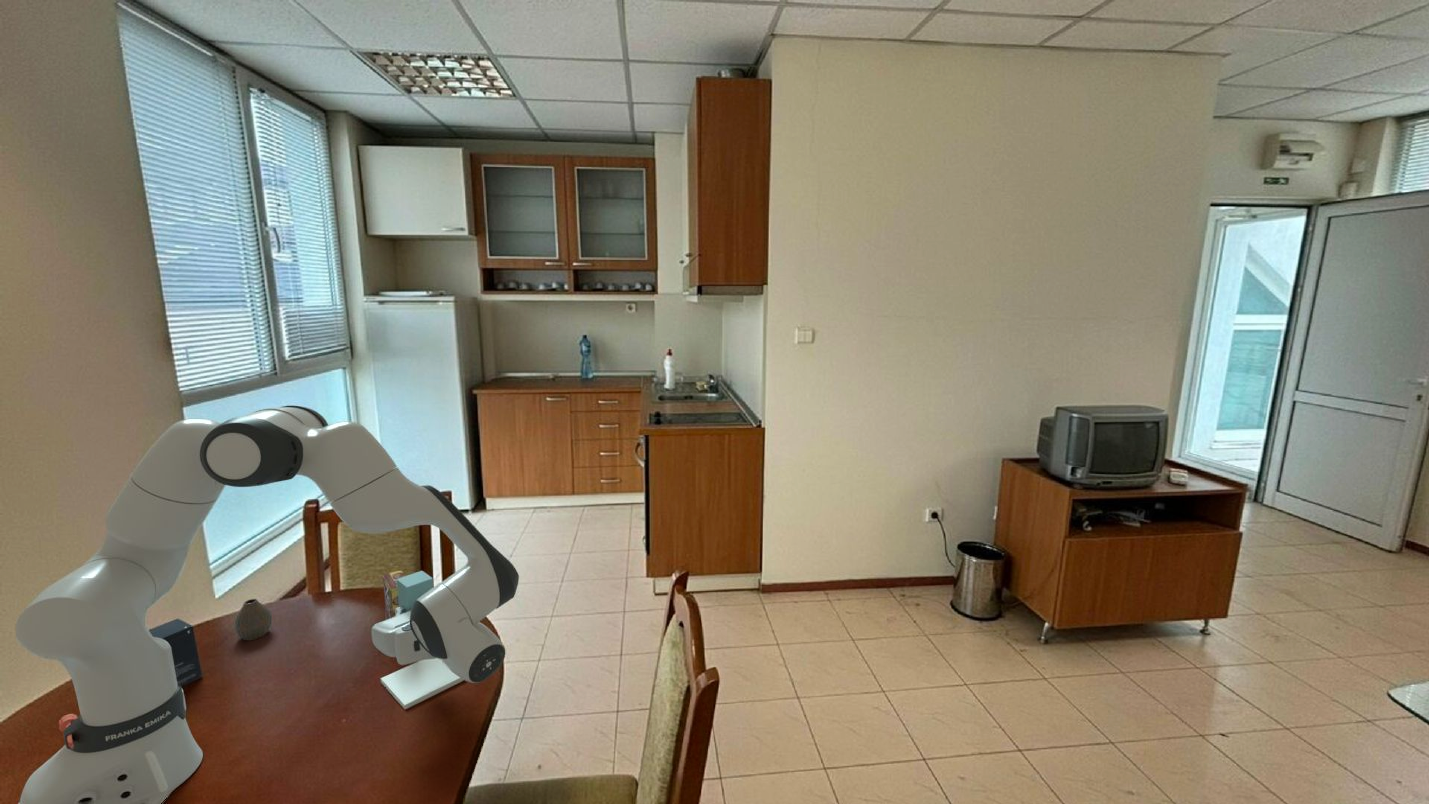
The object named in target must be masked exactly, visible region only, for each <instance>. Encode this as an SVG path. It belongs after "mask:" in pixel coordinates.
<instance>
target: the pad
mask: <svg viewBox="0 0 1429 804" xmlns="http://www.w3.org/2000/svg"><path fill="white" fill-rule="evenodd" d="M463 681H465V680H464V679H462V678H460V677H459V676H457V675H456V674H454V673H453V672H452V671H450V670H449V669H448V668H447V667H446V666H445V665H444V664H443V663H442V661H441V660H439V659H437V658H436V659H427V660H421V661H417V662H413V663H411V664H408V665H407V666H405V667H402V668H401V669H399V670H397V671H393V672H392V673H390V674H388V675H385V676H383V677H380V683H381V685H382V686H383V687H384V688H385V687H386V688H385V689H386V691H388V692H389V694H390V695H392V697H393V698H394V699H395V701H396V702H398V704H400V706H401V707H402V708H403V710H407V709H409V708H411V707H413V706H415V705H417V704H419V703H421V702H423V701H425V700H427V699H429V698H431V697H434V696H436V695H437V694H440V693H441V692H443V691H446V690H448V689H449V688H451V687H454V686H455V685H457V684H460V683H461V682H463Z"/></svg>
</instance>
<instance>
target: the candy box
mask: <svg viewBox="0 0 1429 804" xmlns="http://www.w3.org/2000/svg"><path fill="white" fill-rule="evenodd" d="M405 576H406V575H405V574H404V572H403V571H402V570H396V571H392V572H389V573H386V574H383V575H382V580H383V581H382V582H383V595H384V607H385V608H384V610H385V620H387V619H390V618H392V617H395V609H396V608H398V607H399V599H398V589H397V579H399V578H402V577H405Z"/></svg>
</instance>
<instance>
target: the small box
mask: <svg viewBox="0 0 1429 804" xmlns="http://www.w3.org/2000/svg"><path fill="white" fill-rule="evenodd" d="M194 627H195V626H194V625H193V624H191V623H188V622H187V621H185V620H183V619H181V618H175V619H173V620H170V621H167V622H164V623H162V624H161V625H160V624H159V625H158V626H155V627H152V628H148V630H149V632H150V633H151V635H152V636H153V637H157V638H161V639H164V640H165V641H167V642H168V643H169V644H170V646H171V650H172V655H173V661H174V667H175V673H176V679H177V682H179V683H180V685H181V688H182V687H185V686H186V685H188V684H190V683H193V682H195V681H197V680H199V679H202V678H203V676H204V674H203V672H202V671H203V670H202V667H201V662H200V657H199V651H198V646H197V645H198V644H197V640H196V636H195V630H194V629H195V628H194Z"/></svg>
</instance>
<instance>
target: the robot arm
mask: <svg viewBox="0 0 1429 804" xmlns="http://www.w3.org/2000/svg"><path fill="white" fill-rule="evenodd" d="M296 476H303V477H305V478H308V479H309V480H311V481H312V482H314V484H316V486H317V487H318V488H319V490H320V492H321V493H322V494H323V496H324V498H325V499H326V501H327V502H328V503H329V506H330V507H331V508H332V509H333V511H334V512H335V514H336V515H337V516H338V517H339V518H340V520H341V521H342V522H343V523H344V524H345V525H346V526H347V527H348V528H350V529H351V530H354V531H355V532H359V533H363V534H383V533H390V532H395V531H398V530H403V529H408V528H411V527H417V526H424V525H425V526H426V525H428V526H434V527H436V528H438V529H439V530H440V531H441V532H442V533H444V534H445V536H446V537H448V539H449V540H450V541H451V542H452V543H453V544H454V545H455V546H456V548H458V549H459V550H460V552H461V553H462V554H464V556H465V557H466V558H467V562H466V564H465V565H464V566H463V567H461V568H460V569H459V570H457V571H456V572H454V573H453V574H451V575H450V576H448V577H447V578H445V579H444V580H443V581H440V582H439V583H437V584H436V585H434V586H433V588H432V589H430V590H429V591H428V592H426V593H425V594H424V595H422V596H421V597H420V598H418V599H417V600H416V601H415V602H414V604H413V606H412V610H411V611H408V612H406V608H405V607H403V606H401V607H398V608H396V609H395V617H392V618H390V619H387V620H386V619H385V620H383V621H380V622H377V623H375V624H374V625H373V626H372V627H371V630H370V632H371V640H372V644H373V646H374V647H375V648H376V649H378V651H380V652H381V653H382V654H384V655H386V656H387V657H390V658H396V661H397V663H398V664H399V665H401V666H405V665H410V664H414V663H416V662H418V661H421V660H427V659H436V658H437V659H439V660H441V661H442V663H443V664H444V665H445V666H446V667H447V668H448V669H449V670H450V671H452V672H453V673H454V674H456V675H457V676H459V677H460V678H462V679H464V680H463V681H466V682H468V683H472V684H478V683H482V682H484V681H486V680H487V679H490V677H492V676H493V674H496V672H497V671H498V670H499V668H500V667H501V666H502V665H503V662H504V660H505V657H506V654H507V653H506V647H505V645H504V644H503V642H502V641H501V640H500V638H499V637H498V636H497V634H495V633H494V632H493V631H492V630H491V629H490V628H489V627H487V626H486V625H485V624H484V623H482V622H480V621H482V620H483V619H485V618H486V617H487V616H488V615H490V613H493V611H495V610H497V609H499V608H500V607H502V606H503V605H505V604H506V603H508V602H509V601H510V600H512V599H514V598H515V595H516V593H517V590H518V585H519V579H520V576H519V573H518V571H517V569H516V567H515V566H514V564H513V563H512V562H511V561H510V560H509V558H507V557H505V556H504V555H503V554H502V553H501V552H500V551H499V550H498V549H497V548H495V546H494V545H493V544H492V543H491V542H490V541H489V540H488V539H487V537H485V536H484V535H483V533H481V532H480V531H479V530H478V528H477V527H476V526H475V525H474V524H473V523H472V522H471V521H470V520H469V519H468V518H467V517H466V516H465V515H464V514H463V512H462V511H461V510H460V509H459V508H458V507H457V506H456V505H455V504H454V503H453V502H452V501H451V500H450V499H449V498H448V497H447V496H446V495H444V493H442V492H441V491H440V490H438V489H437V488H436V487H434V486H432V485H429V484H428V485H426V484H425V485H419V484H417V483H415V482H414V481H412V480H410V479H409V478H408V477H406V475H404V474H403V472H402V471H401V470H400V468H399V467H398V466H397V464H396V463H395V461H394V460H393V458H392V457H391V455H390V454H389V453H388V451H387V450H386V449H385V448H384V447H383V445H382V444H381V443H380V442H379V441H378V440H377V438H375V436H374V435H373V434H372V433H371V432H370V431H369V430H368V429H367V428H366V427H365V426H364V425H363V424H360V423H359V422H355V421H349V420H348V421H338V422H334V423H330V424H329V423H328V421H327V420H326V419H325V418H324V416H323V415H322V414H320V413H319V412H318V411H316V410H314V409H312V408H309V407H306V406H302V405H301V406H300V405H291V404H290V405H283V406H280V407H279V406H278V407H269V408H264V409H258V410H256V411H253V412H251V413H248V414H244V415H241V416H236V417H232V418H230V419H228V420H225V421H223V422H222V423H221V422H219V421H215V420H211V419H206V418H195V417H194V418H186V419H181V420H179V421H176V422H174V423H173V424H172V425H170V426H169V428H167V429H166V430H165V431H164V432H163V433H162V434H161V435H160V436H159V437H158V439H156V440H155V442H154V443H153V444H151V447H150V448H149V449H148V450H147V451H146V453H145V454H144V456H142V457H141V459H140V461H138V463H137V465H136V467H135V468H134V469H133V471H132V472H131V474H130V476H129V477H128V479H127V480H126V481H125V484H124V485H123V487H122V489H121V490H120V492H119V493H118V495H117V497H116V498H115V500H114V501H113V503H112V504H111V506H110V508H109V509H108V510H107V512H106V514H105V516H104V526H105V528H106V533H105V536H104V539H103V542H102V544H101V545H100V547H99V548H98V550H97V551H96V552H95V553H94V554H93V555H92V556H91V557H90V558H89V559H87V560H86V562H85V563H83V564H82V565H81V566H79V567H77V568H76V569H75V570H73V571H72V572H70V573H68V574H66V575H65V576H63V577H61V578H60V579H59V580H57V581H55V582H54V583H52V584H50V585H49V586H47V587H46V588H45V589H43V590H42V591H41V592H40V593H39V594H38V595H37V596H36V597H35V598H34V599H33V600H32V601H31V602H30V603H29V604H28V606H27V607H25V609H24V610H23V611H22V612H21V614H20V615H19V616H18V618H17V620H16V624H15V629H14V631H15V632H14V633H15V636H16V637H15V638H16V639H17V642H18V643H19V644H20V646H21V647H22V648H23V649H24V650H26V651H27V652H29V653H30V654H32V655H34V656H35V657H39V658H42V659H47V660H56V661H58V663H60V664H61V666H63V668H64V669H65V670H66V672H67V673H68V674H69V676H70V679H71V681H72V684H73V687H74V691H75V695H76V700H77V703H78V705H77V706H78V709H79V713H80V715H79V716H78V715H77V714H74V713H68V714H66V715H63V716H62V717H60V719H59V721H58V726H59V727H58V729H59V731H60V732H63V739H64V745H63V747H61V748H60V749H59V750H58V751H57V752H56V753H55V754H53V755H52V756H51V757H50V758H49V759H47V761H45V762H44V763H43V764H41V766H40V767H38V768H37V769H36V770H35V771H34V772H33V773H32V774H31V775H30V776H29V778H28V779H27V781H26V782H25V785H24V787H23V789H22V793H21V794H20V799H19V802H18V803H17V804H161V803H162V802H163V801H164V800H165V799H166V798H167V799H168V797H169V796H170V794H172V792H173V791H174V790H175V789H176V788H178V787H179V786H180V785H181V784H183V783H184V782H186V780H188V779H189V778H190V777H191V776H192V774H193V773H194V772H196V770H197V769H198V768H199V766H200V764H201V763H202V761H203V757H204V756H203V755H204V754H203V753H204V752H203V750H202V749H201V747H200V746H199V745H198V743H197V741H196V740H195V738H194V737H193V734H192V732H191V730H190V728H189V724H188V721H187V720H186V715H187V704H186V698H185V694H184V690H183V688H182V687H181V685H180V683H179V682H177V679H176V673H175V667H174V661H173V655H172V650H171V646H170V644H169V643H168V642H167V641H165V640H164V639H161V638H157V637H153V636H152V635H151V633H150V632H149V628H148V626H147V624H146V623H147V622H146V615H147V612H148V611H149V609H150V608H151V607H153V606H154V605H155V604H156V603H157V602H158V601H160V600H161V599H162V598H163V597H165V595H166V594H167V593H168V592H170V590H171V589H173V587H174V585H175V584H176V583H177V581H178V579H179V578H180V577H181V575H182V573H183V571H184V570H185V566H186V559H187V557H188V554H189V552H190V548H191V545H192V543H193V541H194V538H195V537H196V536H197V533H198V532H199V530H200V529H201V527H202V525H203V524H204V522H205V521H206V519H207V517H208V516H209V515H210V512H211V511H212V509H213V508H214V505H215V504H216V502H217V501H218V499H219V498H220V496H221V495H222V493H223V491H224V489H225V488H226V486H227V487H232V488H233V487H234V488H249V487H250V488H251V487H252V488H253V487H261V486H265V485H269V484H273V483H279V482H284V481H285V482H286V481H290V480H292V479H293V478H295V477H296ZM405 612H406V613H405ZM167 799H166V800H167ZM166 800H165V801H166ZM165 801H164V802H165ZM164 802H163V803H164ZM163 803H162V804H163Z"/></svg>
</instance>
